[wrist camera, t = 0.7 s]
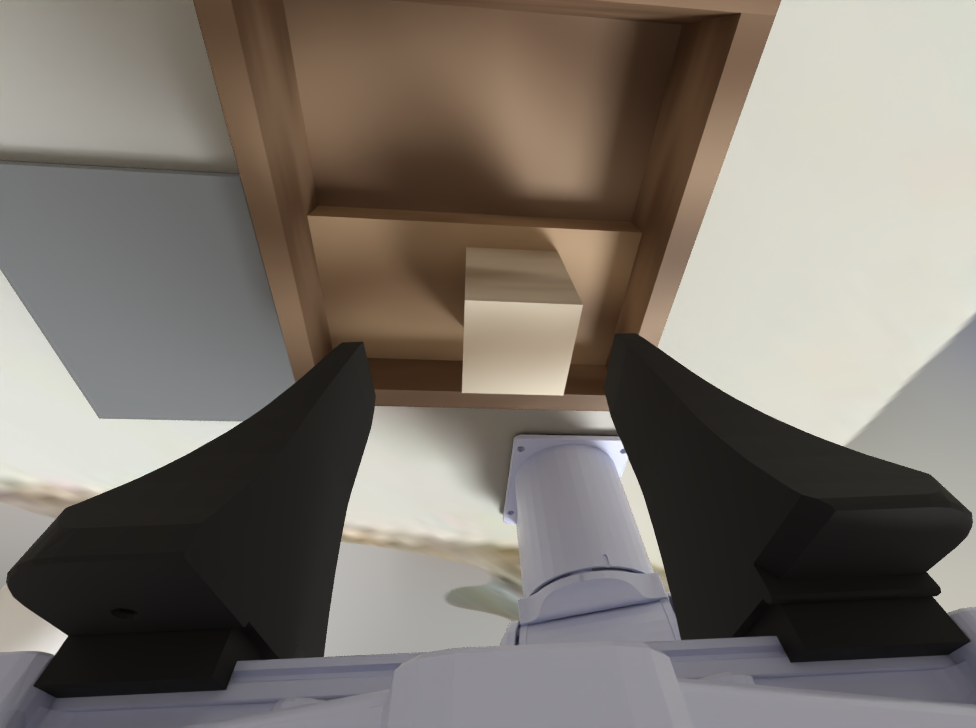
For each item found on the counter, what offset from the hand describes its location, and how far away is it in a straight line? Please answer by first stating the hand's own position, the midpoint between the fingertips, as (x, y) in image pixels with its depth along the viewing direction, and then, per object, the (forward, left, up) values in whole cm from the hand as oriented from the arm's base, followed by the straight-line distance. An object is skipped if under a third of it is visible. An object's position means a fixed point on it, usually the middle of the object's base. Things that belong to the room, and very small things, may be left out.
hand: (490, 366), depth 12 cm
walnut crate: (+2, 0, -10) cm, 10 cm away
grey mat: (-4, +16, -10) cm, 19 cm away
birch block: (-1, -1, -8) cm, 8 cm away
